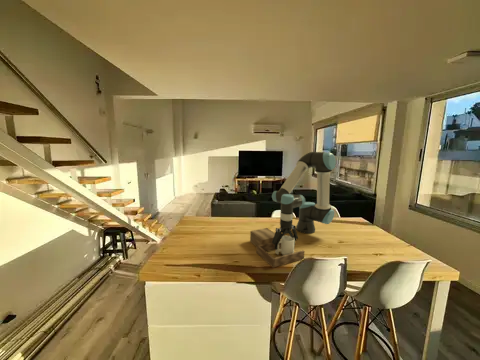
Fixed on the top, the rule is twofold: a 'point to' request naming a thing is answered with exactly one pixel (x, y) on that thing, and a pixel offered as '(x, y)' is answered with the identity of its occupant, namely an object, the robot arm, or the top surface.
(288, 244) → the mug
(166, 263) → the top surface
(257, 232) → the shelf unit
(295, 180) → the robot arm
